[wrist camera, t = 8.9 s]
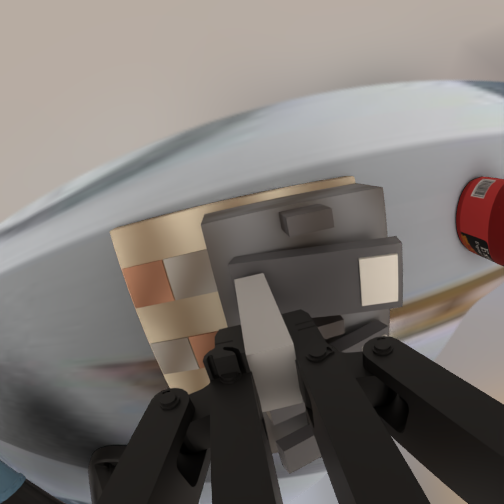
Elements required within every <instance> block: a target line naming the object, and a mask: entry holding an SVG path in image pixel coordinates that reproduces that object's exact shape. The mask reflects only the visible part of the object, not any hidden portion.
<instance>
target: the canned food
mask: <svg viewBox="0 0 504 504" xmlns="http://www.w3.org/2000/svg"><path fill="white" fill-rule="evenodd" d="M456 225H457V232H458V235H459V238H460V240H461V242H462V244H463V245H464V246H465V247H466V248H467V249H468V250H469V251H471V252H473V253H475V254H477V255H480V256H482V257H484V258H486V259H489V260H491V261H493V262H495V263H497V264H499V265H502V266H504V179H498V178H491V177H480V178H477V179H474V180H472V181H471V182H469V183H468V184H467V186H466V187H465V188H464V190H463V192H462V194H461V197H460V199H459V203H458V207H457V215H456Z"/></svg>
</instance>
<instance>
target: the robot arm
mask: <svg viewBox="0 0 504 504" xmlns="http://www.w3.org/2000/svg"><path fill="white" fill-rule="evenodd" d="M234 281H235V288H236V295H237V301H238V308H239V315H240V321H241V325H237V326H232V327H227V328H223V329H219V331H218V332H217V334H216V335H215V348H214V349H212V350H210V351H209V352H208V353H207V354H206V355H205V356H204V358H203V363H204V366H205V369H206V371H207V374H208V377H209V379H210V383H209V384H208V385H207V386H206V387H204V388H203V389H201V390H199V391H196V392H194V393H191V394H188V393H187V392H186V391H185V390H183V389H180V388H169V389H166V390H163V391H161V392H160V393H158V394H157V395H155V397H154V398H153V399H152V400H151V402H150V404H149V406H148V408H147V409H146V411H145V413H144V415H143V417H142V419H141V420H140V422H139V424H138V426H137V428H136V430H135V432H134V434H133V435H132V437H131V439H130V441H129V443H128V445H127V446H107V447H103V448H100V449H98V450H96V451H95V452H94V453H93V454H92V457H91V460H90V463H89V467H88V474H89V484H90V492H91V500H92V504H198V502H199V499H200V495H201V492H202V488H203V485H204V481H205V478H206V475H207V471H208V468H209V464H210V460H211V486H212V504H283V502H282V497H281V493H280V488H279V484H278V479H277V475H276V470H275V466H274V461H273V456H272V452H271V447H270V443H269V438H268V433H267V428H266V424H265V420H264V417H263V413H262V412H266V411H271V410H275V409H279V408H283V407H287V406H291V405H295V404H299V403H302V402H303V400H304V403H305V409H306V416H307V423H308V425H311V428H312V431H313V434H314V436H315V439H316V442H317V445H318V447H319V450H320V453H321V456H322V459H323V461H324V464H325V467H326V470H327V472H328V475H329V478H330V481H331V484H332V486H333V489H334V492H335V495H336V497H337V500H338V503H339V504H430V502H429V500H428V498H427V497H426V495H425V493H424V491H423V490H422V488H421V486H420V485H419V483H418V481H417V479H416V478H415V476H414V474H413V473H412V471H411V469H410V467H409V466H408V464H407V462H406V461H405V459H404V458H403V456H402V454H401V452H400V451H399V449H398V447H397V446H396V444H395V442H394V441H393V439H392V437H393V438H394V439H395V440H396V441H397V442H398V443H399V444H400V445H402V446H403V447H404V448H405V449H406V450H407V451H408V452H409V453H410V454H411V455H413V456H414V457H415V458H416V459H417V460H418V461H419V462H420V463H422V464H423V465H424V466H425V467H426V468H427V469H428V470H429V471H431V472H432V473H433V474H434V475H435V476H436V477H437V478H439V479H440V480H441V481H442V482H443V483H444V484H446V485H447V486H448V487H449V488H450V489H451V490H453V491H454V492H455V493H456V494H457V495H458V496H460V497H461V498H462V499H463V500H464V501H466V502H467V503H468V504H504V405H503V404H502V403H500V402H499V401H497V400H495V399H494V398H492V397H490V396H489V395H487V394H486V393H484V392H482V391H480V390H479V389H477V388H476V387H474V386H472V385H471V384H469V383H468V382H466V381H464V380H463V379H461V378H459V377H458V376H456V375H455V374H453V373H451V372H449V371H448V370H446V369H445V368H443V367H442V366H440V365H438V364H437V363H435V362H433V361H432V360H430V359H429V358H427V357H425V356H424V355H422V354H420V353H419V352H417V351H415V350H414V349H412V348H411V347H409V346H407V345H406V344H404V343H402V342H401V341H399V340H397V339H395V338H393V337H387V336H381V337H375V338H373V339H370V340H369V341H368V342H366V343H365V344H364V346H363V351H360V352H349V353H344V352H339V351H338V350H337V349H336V348H335V347H334V346H333V345H330V344H327V343H326V341H325V339H324V338H323V336H322V334H321V333H320V331H319V329H318V328H317V326H316V324H315V323H314V321H313V319H312V318H311V316H310V315H309V313H307V312H305V311H303V310H301V309H299V310H295V311H292V312H288V313H284V314H281V313H280V311H279V309H278V306H277V304H276V302H275V299H274V297H273V295H272V292H271V290H270V288H269V285H268V283H267V281H266V278H265V276H264V274H263V273H261V274H257V275H252V276H248V277H244V278H239V279H235V280H234ZM302 397H303V399H302ZM390 435H391V436H392V437H391V436H390ZM0 504H66V503H64V502H62V501H61V500H59V499H57V498H55V497H54V496H52V495H51V494H49V493H47V492H46V491H44V490H43V489H41V488H40V487H38V486H36V485H35V484H34V483H32V482H31V481H29V480H28V479H26V477H25V476H24V475H23V474H21V473H18V472H16V471H15V470H13V469H12V468H10V467H9V466H8V465H6V464H5V463H4V462H2V461H1V460H0Z"/></svg>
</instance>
